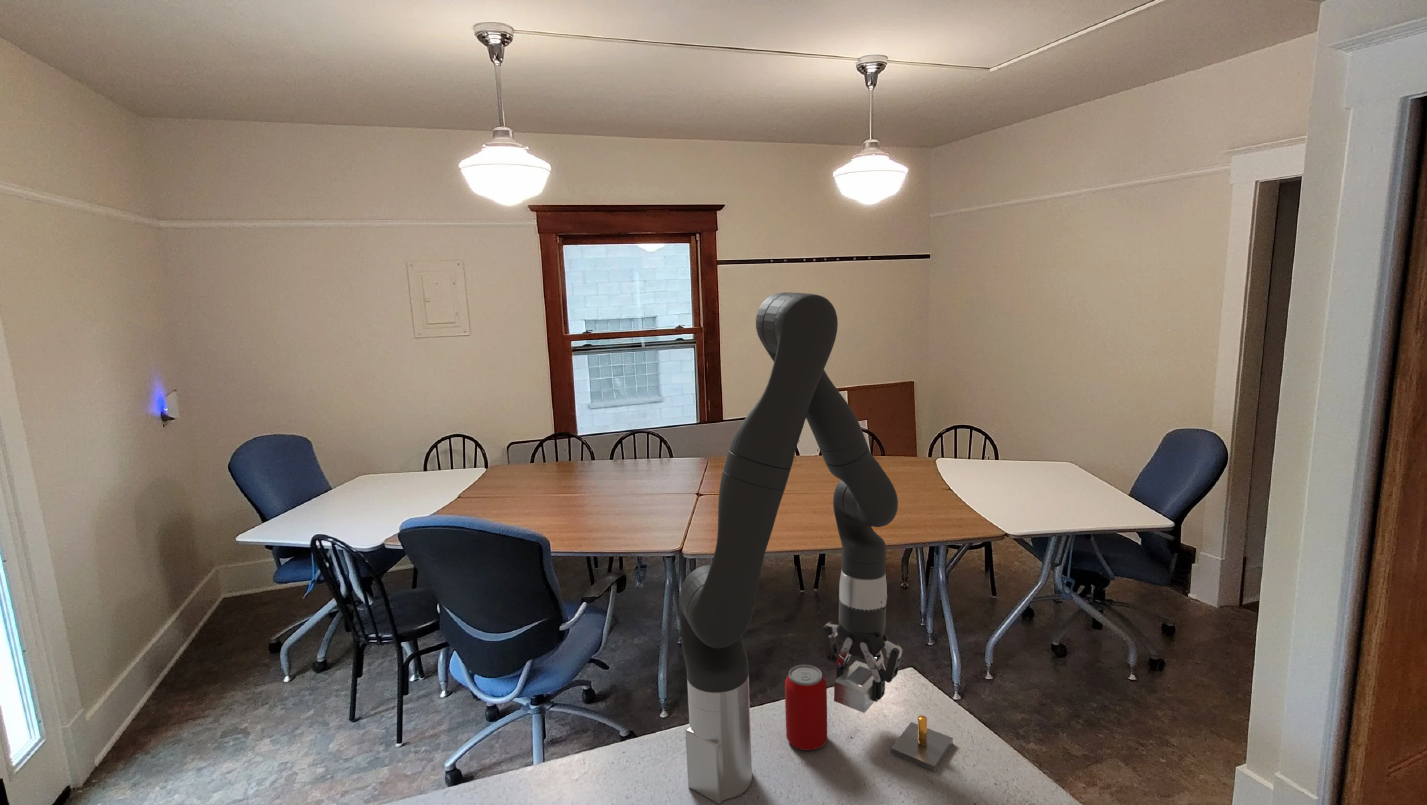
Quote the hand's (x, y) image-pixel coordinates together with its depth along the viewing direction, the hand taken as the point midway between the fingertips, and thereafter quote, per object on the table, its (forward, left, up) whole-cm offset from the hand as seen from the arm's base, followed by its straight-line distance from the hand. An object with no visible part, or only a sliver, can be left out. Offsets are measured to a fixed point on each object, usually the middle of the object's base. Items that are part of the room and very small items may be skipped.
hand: (860, 692), depth 111 cm
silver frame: (0, 0, -1) cm, 1 cm away
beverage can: (-8, +6, -7) cm, 12 cm away
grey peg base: (+1, -10, -7) cm, 12 cm away
